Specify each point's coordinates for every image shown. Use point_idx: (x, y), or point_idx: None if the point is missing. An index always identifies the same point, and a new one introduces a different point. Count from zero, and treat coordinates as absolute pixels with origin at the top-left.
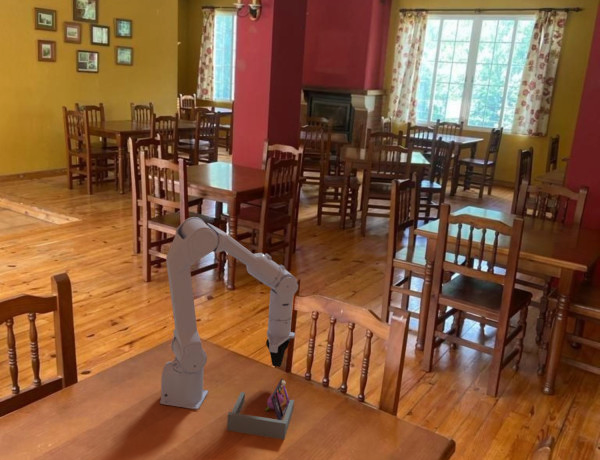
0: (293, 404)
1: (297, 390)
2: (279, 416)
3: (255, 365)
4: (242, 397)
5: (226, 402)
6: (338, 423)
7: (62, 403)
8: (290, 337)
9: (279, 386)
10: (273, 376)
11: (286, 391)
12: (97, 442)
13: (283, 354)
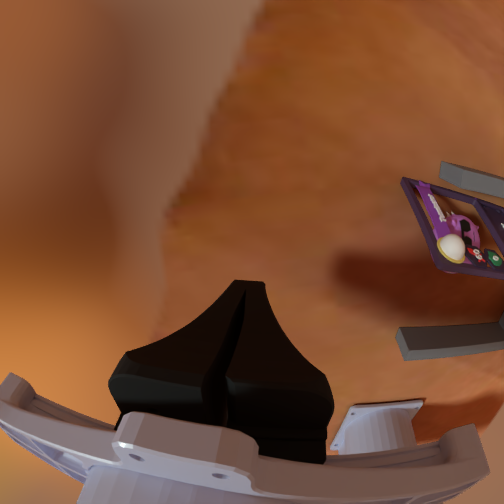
0: (463, 168)
1: (297, 147)
2: (498, 215)
3: (159, 326)
4: (435, 349)
5: (398, 364)
6: (474, 11)
7: None
8: (259, 463)
9: (493, 266)
10: (208, 263)
11: (438, 212)
12: None
13: (284, 333)
